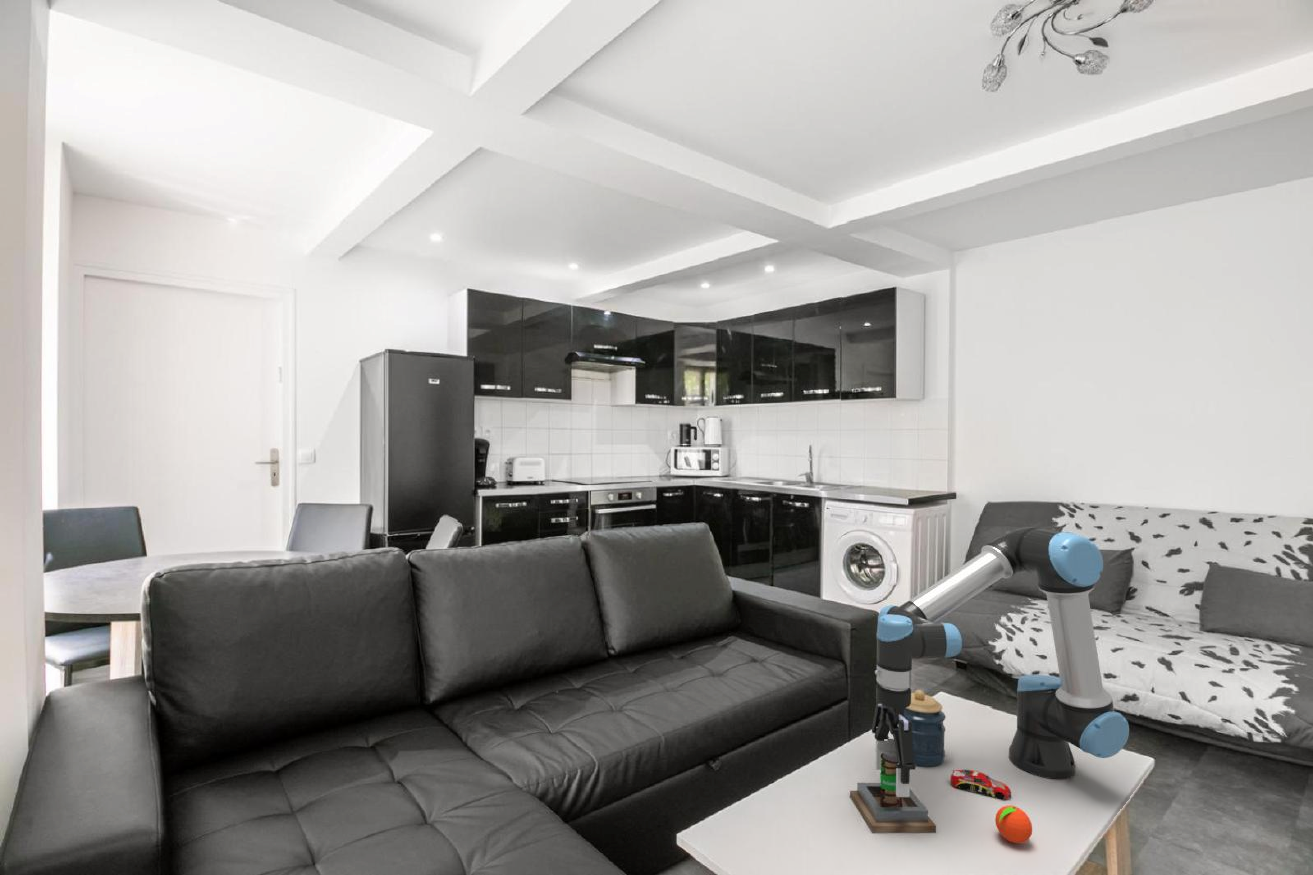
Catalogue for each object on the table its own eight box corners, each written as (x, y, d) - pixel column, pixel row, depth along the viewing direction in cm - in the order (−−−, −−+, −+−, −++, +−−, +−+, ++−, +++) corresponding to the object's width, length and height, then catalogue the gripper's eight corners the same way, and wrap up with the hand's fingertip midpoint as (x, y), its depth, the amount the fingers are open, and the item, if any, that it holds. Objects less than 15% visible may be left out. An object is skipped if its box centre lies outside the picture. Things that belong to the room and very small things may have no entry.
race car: (1011, 793, 155) (1011, 777, 155) (1011, 804, 151) (1011, 787, 151) (951, 778, 162) (951, 762, 162) (949, 788, 157) (950, 771, 157)
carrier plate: (907, 796, 152) (907, 790, 152) (936, 832, 138) (936, 825, 138) (849, 796, 152) (850, 790, 152) (872, 833, 138) (872, 826, 138)
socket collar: (904, 793, 151) (905, 782, 151) (927, 822, 139) (928, 810, 139) (857, 793, 150) (857, 782, 150) (876, 822, 139) (876, 811, 139)
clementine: (1013, 855, 131) (1014, 820, 131) (984, 836, 137) (984, 803, 138) (1039, 846, 134) (1040, 812, 134) (1009, 827, 141) (1010, 795, 141)
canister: (948, 752, 175) (949, 688, 175) (940, 772, 164) (941, 704, 164) (898, 740, 182) (899, 677, 182) (888, 758, 171) (889, 692, 171)
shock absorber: (871, 807, 145) (872, 741, 145) (882, 796, 149) (883, 731, 150) (900, 818, 141) (901, 750, 141) (910, 806, 145) (911, 740, 146)
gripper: (858, 666, 157) (856, 756, 156) (899, 706, 133) (897, 811, 133) (888, 667, 157) (886, 756, 157) (934, 706, 134) (932, 811, 133)
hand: (891, 782), depth 145 cm, fingers open, 11 cm apart
